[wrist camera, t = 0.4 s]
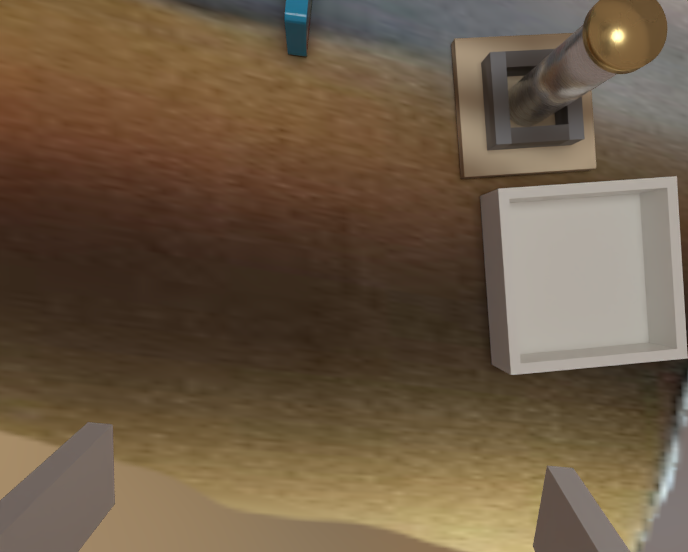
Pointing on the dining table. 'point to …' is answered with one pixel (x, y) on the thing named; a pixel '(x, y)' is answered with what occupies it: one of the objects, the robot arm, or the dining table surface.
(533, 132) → the canister holder base
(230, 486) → the dining table surface
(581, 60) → the gold-capped canister
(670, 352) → the tray
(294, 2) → the blue box
